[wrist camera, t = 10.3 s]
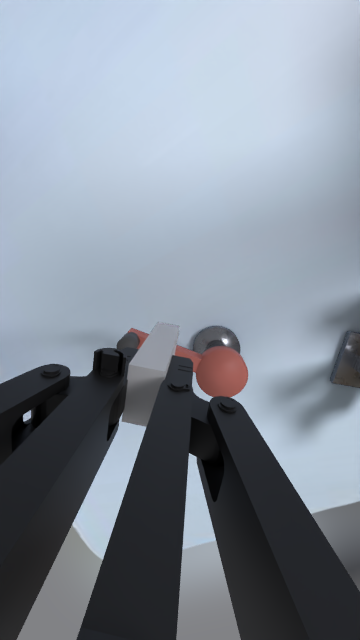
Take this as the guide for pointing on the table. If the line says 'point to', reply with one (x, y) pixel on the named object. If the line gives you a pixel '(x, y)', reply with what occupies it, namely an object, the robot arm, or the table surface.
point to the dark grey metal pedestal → (215, 339)
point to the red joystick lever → (205, 365)
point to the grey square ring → (348, 362)
